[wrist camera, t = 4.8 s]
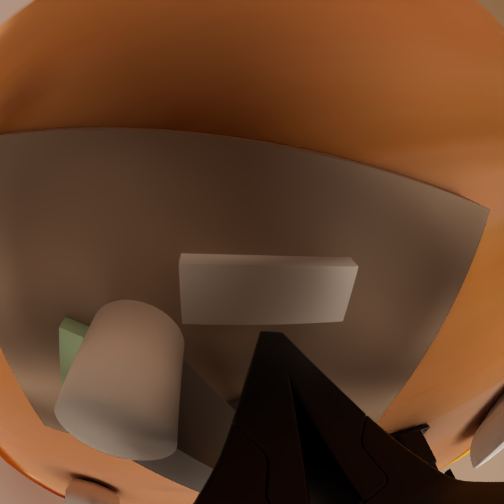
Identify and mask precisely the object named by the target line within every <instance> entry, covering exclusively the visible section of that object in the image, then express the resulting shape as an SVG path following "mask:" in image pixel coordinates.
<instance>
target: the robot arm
mask: <svg viewBox="0 0 504 504" xmlns="http://www.w3.org/2000/svg"><path fill="white" fill-rule="evenodd" d="M429 428H430V427H429V425H428V424H426V425H423V426H420V427H417V428H414V429H411V430H408V431H404V432H401V433H397V434H394V435H389V434H388V433H387V432H386V431H384V430H383V429H382V428H381V427H380V426H379V425H378V424H376V423H375V422H374V421H373V420H372V419H371V418H370V417H369V416H366V413H365V412H364V411H362V410H361V409H360V408H359V407H358V406H357V405H356V404H355V403H354V402H353V401H352V400H351V399H350V398H349V397H348V396H347V395H346V394H345V393H344V392H342V391H341V390H340V389H339V388H338V387H337V386H336V385H335V384H334V383H333V382H332V381H331V380H330V379H329V378H328V377H327V376H326V375H325V374H324V373H323V372H322V371H321V370H320V369H319V368H318V367H317V366H316V365H315V364H314V363H313V362H312V361H311V360H310V359H309V358H308V357H307V356H306V355H305V354H304V353H303V352H302V351H301V350H300V349H299V348H298V347H297V346H296V345H295V344H294V343H293V342H292V341H291V340H290V339H289V338H288V337H287V336H286V335H285V334H284V333H282V332H277V331H260V332H259V336H258V339H257V342H256V346H255V349H254V352H253V356H252V359H251V362H250V366H249V369H248V372H247V375H246V379H245V382H244V385H243V388H242V392H241V395H240V398H239V401H238V404H237V407H236V411H235V414H234V417H233V420H232V423H231V426H230V429H229V432H228V435H227V438H226V440H225V443H224V446H223V448H222V451H221V453H220V456H219V458H218V460H217V462H216V464H215V466H214V468H213V470H212V472H211V474H210V476H209V478H208V479H207V481H206V483H205V485H204V486H203V488H202V490H201V492H200V493H199V495H198V497H197V498H196V500H195V502H194V503H193V504H504V482H470V481H462V480H457V479H455V477H454V475H453V473H452V471H451V469H449V470H447V471H446V472H445V473H444V474H443V473H442V472H440V471H439V470H438V468H437V466H436V464H435V463H436V459H435V457H434V455H433V453H432V451H431V449H430V447H429V445H428V443H427V441H426V439H425V437H424V436H423V434H424V433H425V432H426V431H427V430H428V429H429Z"/></svg>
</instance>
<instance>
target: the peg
mask: <svg viewBox="0 0 504 504" xmlns="http://www.w3.org/2000/svg"><path fill="white" fill-rule="evenodd" d="M183 355H184V338H183V335H182V332H181V330H180V328H179V327H178V325H177V324H176V323H175V322H174V321H173V319H172V318H171V317H169V316H168V315H167V314H166V313H164V312H163V311H162V310H160V309H158V308H156V307H154V306H152V305H150V304H147V303H144V302H140V301H136V300H117V301H113V302H110V303H108V304H106V305H104V306H103V307H101V308H100V309H99V310H98V312H97V313H96V315H95V317H94V318H93V320H92V322H91V324H90V326H89V329H88V331H87V333H86V335H85V337H84V339H83V341H82V343H81V345H80V347H79V349H78V352H77V354H76V356H75V358H74V361H73V363H72V365H71V367H70V370H69V372H68V374H67V377H66V379H65V381H64V384H63V386H62V389H61V391H60V394H59V396H58V399H57V402H56V404H55V407H54V412H55V415H56V418H57V420H58V421H59V423H60V424H61V425H62V426H63V428H64V429H65V430H66V431H67V432H69V433H70V434H71V435H72V436H74V437H75V438H76V439H78V440H79V441H81V442H82V443H84V444H86V445H88V446H90V447H92V448H94V449H96V450H98V451H101V452H103V453H106V454H109V455H112V456H116V457H120V458H124V459H130V460H133V461H134V462H136V463H138V464H140V465H142V466H144V467H146V468H147V469H149V470H151V471H153V472H155V473H157V474H159V475H161V476H163V477H165V478H168V479H170V480H172V481H174V482H176V483H179V484H181V485H183V486H185V487H188V488H190V489H193V490H195V491H198V492H201V490H202V488H203V486H204V485H205V483H206V481H207V479H208V478H209V476H210V474H211V472H212V470H213V468H214V466H215V464H216V462H217V460H218V458H219V456H220V453H221V451H222V448H223V446H224V443H225V440H226V438H227V435H228V432H229V429H230V426H231V423H232V420H233V417H234V414H235V411H236V407H237V404H238V401H239V399H236V400H232V401H229V402H226V401H225V400H224V399H223V398H222V397H220V396H219V395H218V394H217V393H216V392H215V391H214V390H213V389H212V388H211V387H210V386H209V385H208V384H207V383H206V382H205V381H204V380H203V379H202V378H201V377H200V376H199V375H198V374H197V373H196V372H195V371H194V370H193V369H192V368H191V366H190V365H189V364H188V363H187V362H186V361H185V360H184V359H183Z"/></svg>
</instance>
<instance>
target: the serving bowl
mask: <svg viewBox="0 0 504 504" xmlns="http://www.w3.org/2000/svg"><path fill="white" fill-rule="evenodd" d="M503 448H504V394H503V395H502V396H501V397H500V399H499V400H498V401H497V402H496V403H495V404H494V406H493V407H492V408H491V410H490V411H489V413H488V415H487V417H486V418H485V419H484V421H483V422H482V424H481V425H480V426H479V428H478V430H477V431H476V433H475V435H474V437H473V440H472V443H471V449H470V457H471V461H472V465H473V468H474V469H476V468H477V467H479V466H481V465H482V464H484V463H485V462H486V461H488V460H489V459H490V458H492V457H493V456H494V455H495V454H497V453H498V452H499V451H500V450H502V449H503Z"/></svg>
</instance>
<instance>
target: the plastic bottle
mask: <svg viewBox="0 0 504 504" xmlns="http://www.w3.org/2000/svg"><path fill="white" fill-rule="evenodd" d="M65 504H120V502H119V498H118V496H117V494H116V493H115V492H114V491H112V490H110V489H108V488H106V487H104V486H101V485H99V484H97V483H94V482H90V481H86V480H81V479H74V480H72V481H71V482H69V484H68V486H67V489H66V493H65Z"/></svg>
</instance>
